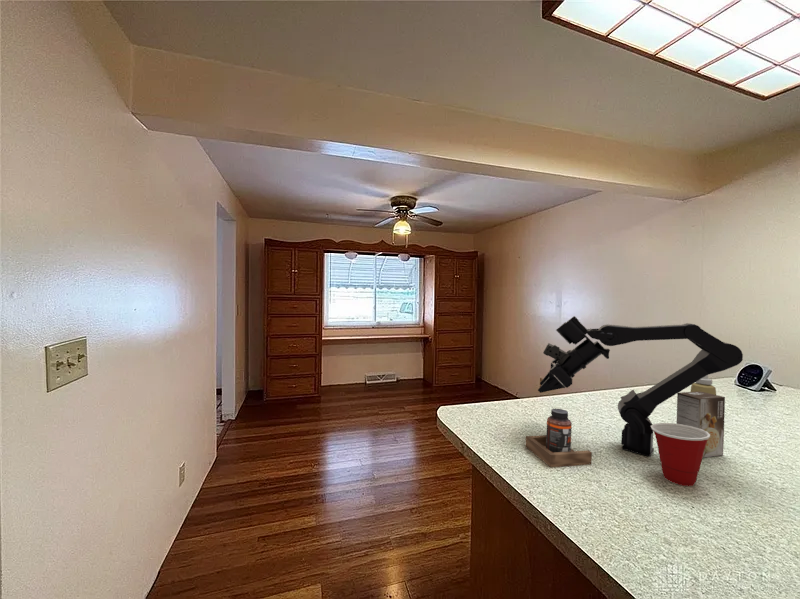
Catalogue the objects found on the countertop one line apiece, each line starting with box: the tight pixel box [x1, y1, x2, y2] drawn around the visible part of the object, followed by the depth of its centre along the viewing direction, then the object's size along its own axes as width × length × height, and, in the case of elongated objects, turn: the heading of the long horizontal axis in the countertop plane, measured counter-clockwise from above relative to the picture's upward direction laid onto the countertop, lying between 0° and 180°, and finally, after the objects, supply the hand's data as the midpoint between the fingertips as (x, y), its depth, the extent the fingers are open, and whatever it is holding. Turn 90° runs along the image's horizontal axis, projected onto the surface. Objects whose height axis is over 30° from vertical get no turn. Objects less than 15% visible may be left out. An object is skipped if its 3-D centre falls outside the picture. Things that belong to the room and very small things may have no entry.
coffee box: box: [676, 391, 726, 459], centre depth 96 cm, size 9×6×16 cm
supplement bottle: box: [545, 408, 573, 453], centre depth 91 cm, size 6×6×11 cm
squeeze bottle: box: [689, 375, 717, 395], centre depth 124 cm, size 8×8×18 cm
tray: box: [525, 434, 593, 468], centre depth 91 cm, size 11×11×3 cm
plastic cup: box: [651, 422, 710, 487], centre depth 81 cm, size 11×11×12 cm
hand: (539, 387), depth 107 cm, fingers open, 9 cm apart
